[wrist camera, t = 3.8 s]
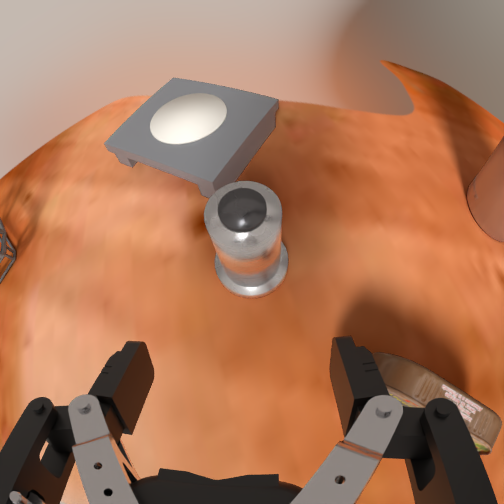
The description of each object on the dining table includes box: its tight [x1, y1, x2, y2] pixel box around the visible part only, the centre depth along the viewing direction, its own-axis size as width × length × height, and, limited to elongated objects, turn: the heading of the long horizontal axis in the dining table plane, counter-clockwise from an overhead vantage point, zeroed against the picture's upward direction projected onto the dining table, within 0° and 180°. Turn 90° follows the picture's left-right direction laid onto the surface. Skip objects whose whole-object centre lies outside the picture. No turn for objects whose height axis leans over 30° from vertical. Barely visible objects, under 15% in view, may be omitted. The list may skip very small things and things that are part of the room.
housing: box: [204, 181, 288, 298], centre depth 24 cm, size 7×7×10 cm
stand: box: [104, 78, 279, 198], centre depth 33 cm, size 16×14×4 cm
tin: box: [372, 352, 502, 455], centre depth 18 cm, size 15×3×8 cm, turn 53°
